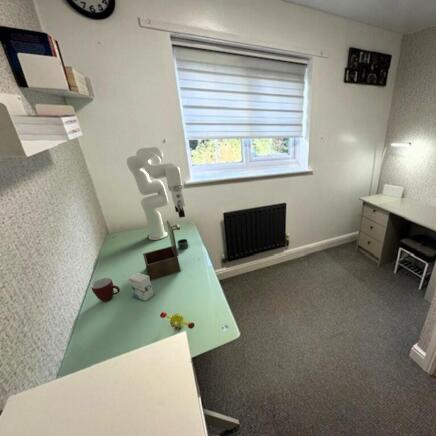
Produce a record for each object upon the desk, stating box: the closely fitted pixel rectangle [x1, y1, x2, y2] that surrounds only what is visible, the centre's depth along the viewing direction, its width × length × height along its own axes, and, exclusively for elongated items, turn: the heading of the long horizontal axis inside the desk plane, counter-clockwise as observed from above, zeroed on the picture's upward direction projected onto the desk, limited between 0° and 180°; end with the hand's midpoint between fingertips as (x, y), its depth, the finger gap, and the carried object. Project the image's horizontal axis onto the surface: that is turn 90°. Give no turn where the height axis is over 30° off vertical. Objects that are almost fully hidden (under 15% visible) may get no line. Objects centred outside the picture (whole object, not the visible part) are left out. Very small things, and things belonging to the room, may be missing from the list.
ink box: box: [128, 272, 154, 301], centre depth 118 cm, size 9×5×12 cm, turn 71°
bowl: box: [176, 238, 190, 250], centre depth 164 cm, size 7×7×4 cm
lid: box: [166, 220, 181, 257], centre depth 139 cm, size 17×15×5 cm
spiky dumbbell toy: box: [159, 311, 195, 330], centre depth 101 cm, size 18×6×7 cm, turn 69°
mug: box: [90, 277, 121, 303], centre depth 116 cm, size 10×8×10 cm
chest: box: [142, 245, 181, 282], centre depth 139 cm, size 16×15×10 cm
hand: (180, 214), depth 144 cm, fingers open, 9 cm apart
